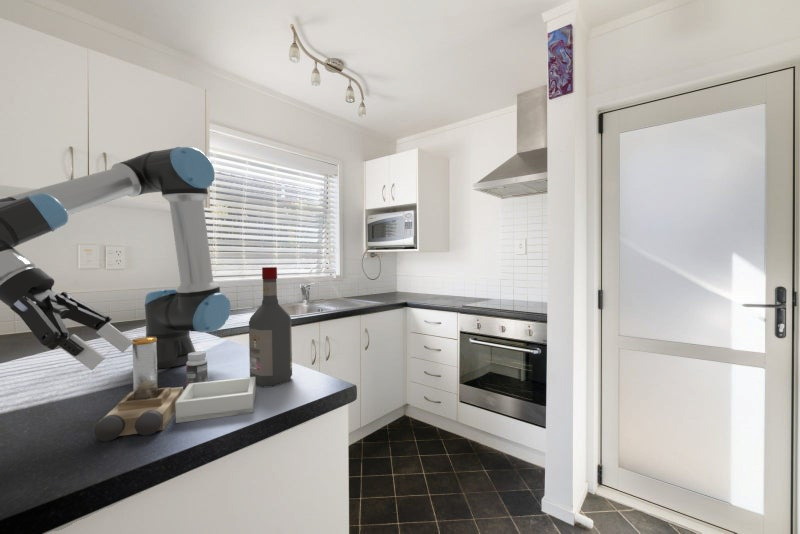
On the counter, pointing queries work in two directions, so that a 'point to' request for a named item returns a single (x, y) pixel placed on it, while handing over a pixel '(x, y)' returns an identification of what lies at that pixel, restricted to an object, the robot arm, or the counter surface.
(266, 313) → the liquor
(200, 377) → the pill bottle
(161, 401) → the trolley block
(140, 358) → the gold capped bottle
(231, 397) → the tray
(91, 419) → the counter surface
